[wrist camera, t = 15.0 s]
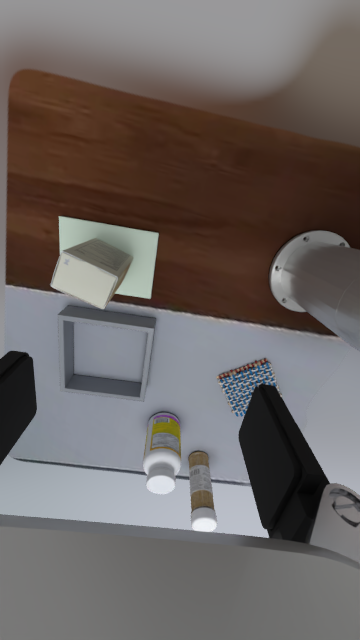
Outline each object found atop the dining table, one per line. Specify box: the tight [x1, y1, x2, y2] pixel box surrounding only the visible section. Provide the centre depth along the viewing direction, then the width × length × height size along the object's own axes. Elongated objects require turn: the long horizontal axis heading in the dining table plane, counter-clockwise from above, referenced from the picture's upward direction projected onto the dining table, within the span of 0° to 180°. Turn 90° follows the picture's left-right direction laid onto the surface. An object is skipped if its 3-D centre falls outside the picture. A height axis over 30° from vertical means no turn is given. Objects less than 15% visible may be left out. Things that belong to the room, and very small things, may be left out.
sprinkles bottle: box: [188, 451, 217, 532], centre depth 50 cm, size 5×5×13 cm
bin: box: [58, 306, 156, 402], centre depth 43 cm, size 15×15×4 cm
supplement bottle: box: [143, 413, 181, 494], centre depth 46 cm, size 7×7×13 cm
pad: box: [59, 216, 159, 299], centre depth 38 cm, size 14×10×1 cm
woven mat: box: [216, 358, 282, 416], centre depth 48 cm, size 10×11×2 cm
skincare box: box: [51, 238, 133, 309], centre depth 31 cm, size 6×4×12 cm
